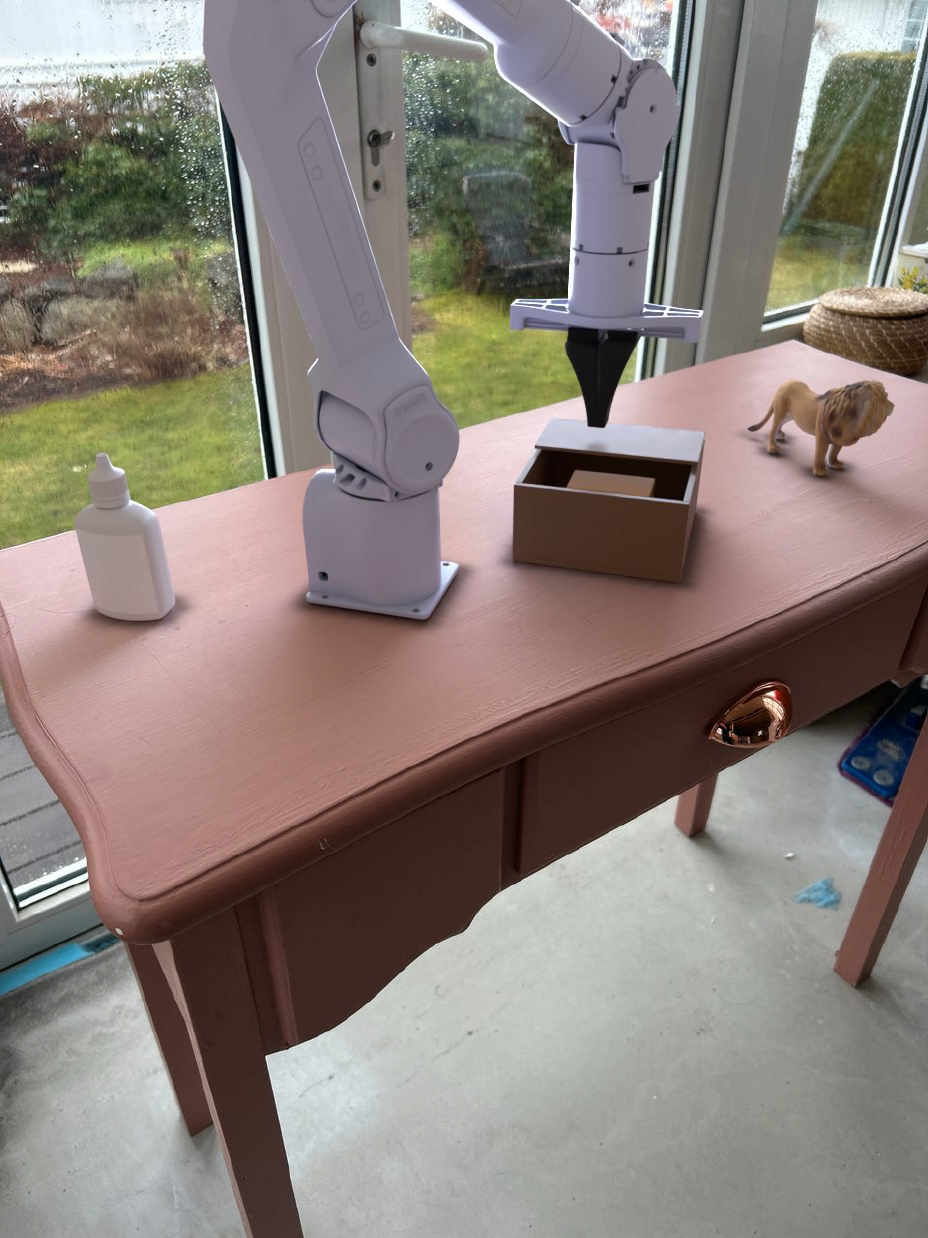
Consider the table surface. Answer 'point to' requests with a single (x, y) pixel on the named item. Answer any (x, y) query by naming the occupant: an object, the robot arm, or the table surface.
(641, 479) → the beige block
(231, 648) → the table surface
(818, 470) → the lion figurine
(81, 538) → the eye dropper bottle
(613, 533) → the bread box
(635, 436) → the flap
